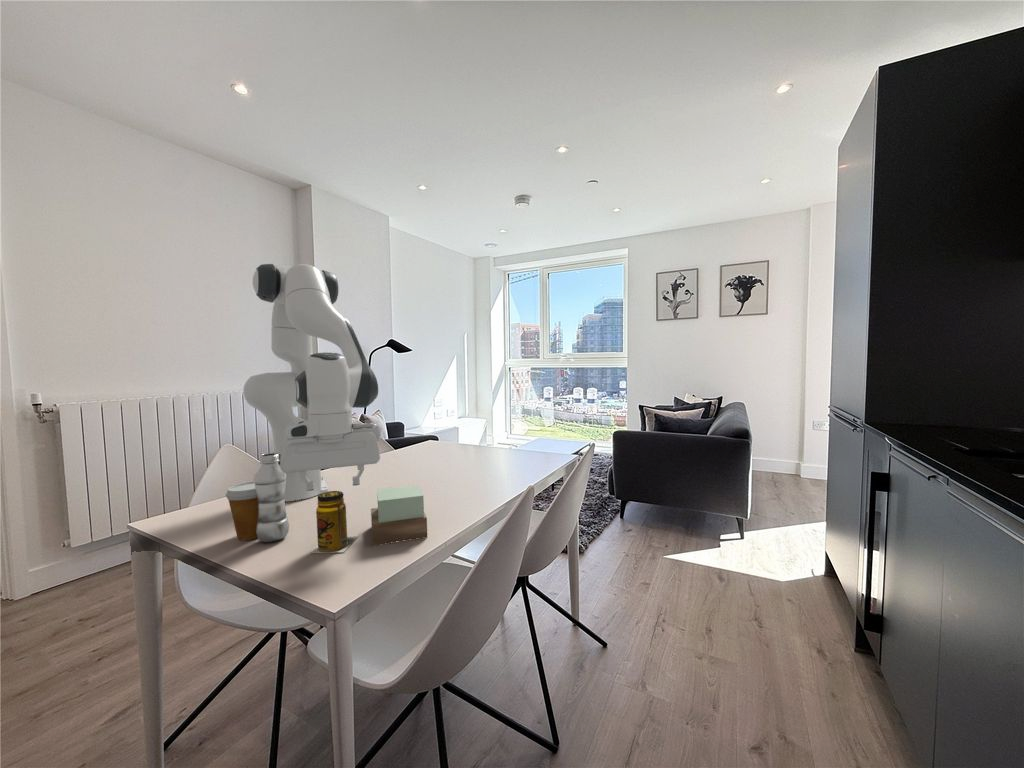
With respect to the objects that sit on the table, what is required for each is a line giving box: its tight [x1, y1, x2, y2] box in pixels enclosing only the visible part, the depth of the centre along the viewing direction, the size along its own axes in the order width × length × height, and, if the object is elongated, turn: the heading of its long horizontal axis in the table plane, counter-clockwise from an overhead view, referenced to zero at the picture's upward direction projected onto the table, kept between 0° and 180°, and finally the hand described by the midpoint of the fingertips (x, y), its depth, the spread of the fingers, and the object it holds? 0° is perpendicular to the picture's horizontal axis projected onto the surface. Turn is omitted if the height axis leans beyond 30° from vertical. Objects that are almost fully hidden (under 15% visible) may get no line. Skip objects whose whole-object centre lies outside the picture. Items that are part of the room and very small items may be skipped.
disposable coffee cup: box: [225, 480, 258, 541], centre depth 100 cm, size 10×10×12 cm
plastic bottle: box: [253, 452, 290, 543], centre depth 97 cm, size 6×7×20 cm
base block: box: [370, 507, 428, 547], centre depth 100 cm, size 12×12×5 cm
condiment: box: [310, 490, 359, 554], centre depth 93 cm, size 7×8×12 cm
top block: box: [376, 484, 425, 523], centre depth 100 cm, size 10×10×5 cm
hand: (333, 487), depth 93 cm, fingers open, 8 cm apart
